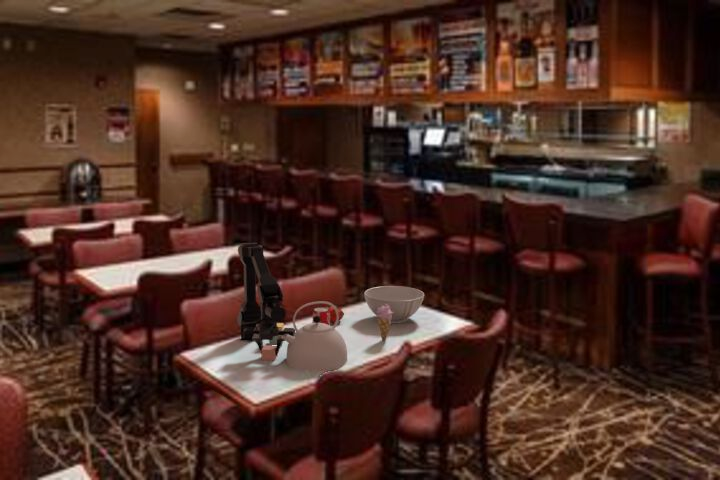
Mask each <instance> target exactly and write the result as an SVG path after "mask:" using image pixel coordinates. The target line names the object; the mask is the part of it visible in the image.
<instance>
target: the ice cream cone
mask: <svg viewBox="0 0 720 480" xmlns="http://www.w3.org/2000/svg"><path fill="white" fill-rule="evenodd" d="M381 306H382V307H381V308H377V309H378V311H377V315H375V316H376V318H377V319H376V320H377V325H378V329H379V333H380V337H381V339H382V341H384V342H385V341H387V337H388V334H389V331H390V327H391V324H392V323H391V318H392V313H393V312H391V310H390V307H389V305H387V304H385V306H383V305H381Z"/></svg>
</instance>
